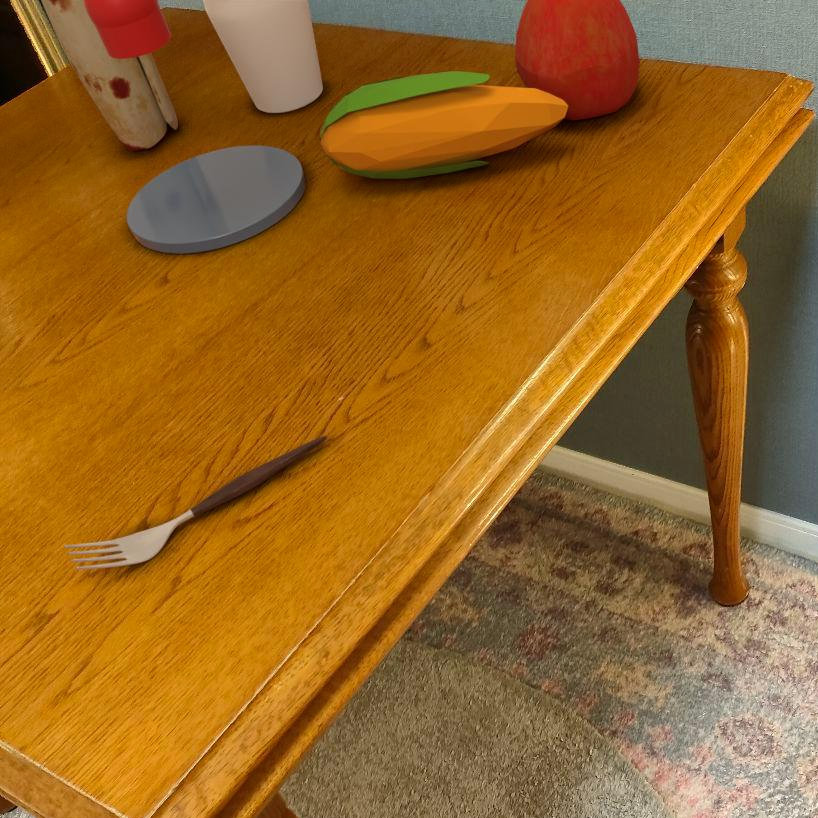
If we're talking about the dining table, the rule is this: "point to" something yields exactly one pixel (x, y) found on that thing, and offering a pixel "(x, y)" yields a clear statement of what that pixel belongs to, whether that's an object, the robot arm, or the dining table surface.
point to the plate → (216, 199)
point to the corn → (433, 124)
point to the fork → (185, 515)
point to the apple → (579, 54)
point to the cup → (270, 50)
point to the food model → (114, 78)
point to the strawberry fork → (129, 26)
